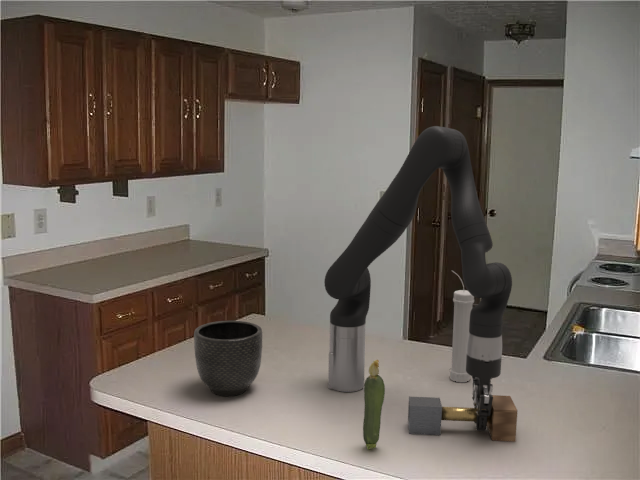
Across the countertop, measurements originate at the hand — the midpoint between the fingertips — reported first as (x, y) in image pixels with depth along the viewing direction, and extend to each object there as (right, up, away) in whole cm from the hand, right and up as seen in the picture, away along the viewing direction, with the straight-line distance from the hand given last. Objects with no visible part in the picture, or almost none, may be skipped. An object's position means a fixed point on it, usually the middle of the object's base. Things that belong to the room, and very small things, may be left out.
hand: (479, 426), depth 152 cm
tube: (-3, +1, 0) cm, 4 cm away
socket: (+5, -1, 0) cm, 5 cm away
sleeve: (-12, -1, +1) cm, 12 cm away
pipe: (+2, +4, +32) cm, 32 cm away
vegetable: (-25, -3, -8) cm, 26 cm away
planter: (-59, +3, +23) cm, 64 cm away
